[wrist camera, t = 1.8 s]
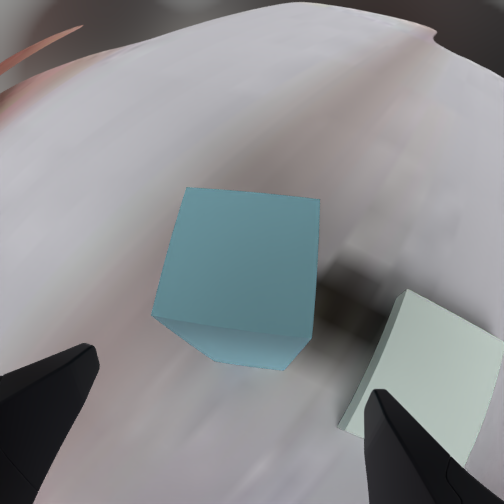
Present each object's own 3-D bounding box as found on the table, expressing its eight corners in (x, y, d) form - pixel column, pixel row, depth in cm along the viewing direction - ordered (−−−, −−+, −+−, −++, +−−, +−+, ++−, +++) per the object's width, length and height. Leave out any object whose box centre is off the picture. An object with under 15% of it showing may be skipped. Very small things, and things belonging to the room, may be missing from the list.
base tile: (447, 467, 14) (461, 471, 12) (336, 427, 17) (344, 430, 15) (490, 348, 18) (505, 342, 16) (396, 297, 20) (407, 288, 19)
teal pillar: (283, 370, 19) (311, 338, 8) (214, 361, 19) (150, 315, 8) (291, 304, 21) (320, 199, 10) (225, 296, 21) (186, 187, 10)
